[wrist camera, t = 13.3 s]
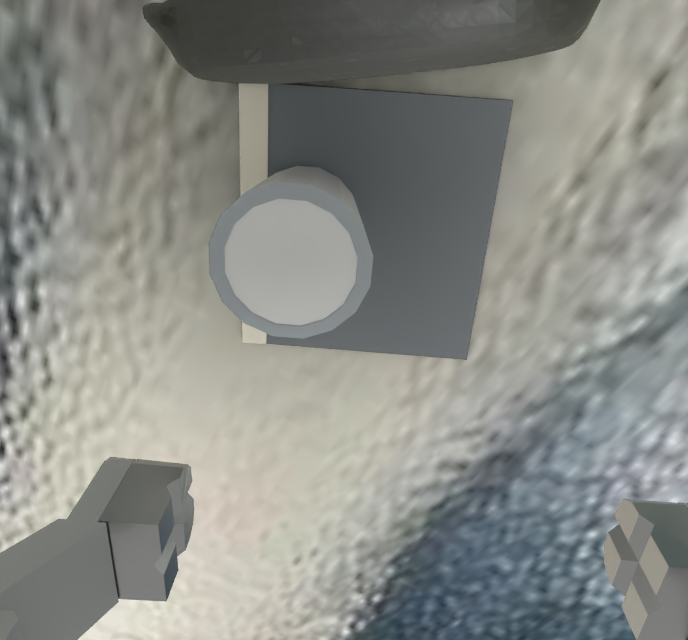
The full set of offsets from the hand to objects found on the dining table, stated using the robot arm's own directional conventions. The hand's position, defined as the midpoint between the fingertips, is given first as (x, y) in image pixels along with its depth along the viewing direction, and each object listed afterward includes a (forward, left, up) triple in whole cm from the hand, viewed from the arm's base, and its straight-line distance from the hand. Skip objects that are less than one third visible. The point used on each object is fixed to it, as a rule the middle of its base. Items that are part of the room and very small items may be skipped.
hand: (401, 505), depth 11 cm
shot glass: (0, -4, -21) cm, 21 cm away
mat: (+1, -1, -21) cm, 21 cm away
